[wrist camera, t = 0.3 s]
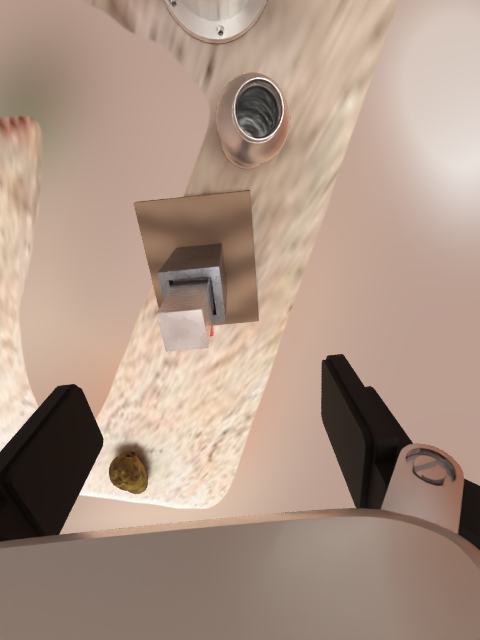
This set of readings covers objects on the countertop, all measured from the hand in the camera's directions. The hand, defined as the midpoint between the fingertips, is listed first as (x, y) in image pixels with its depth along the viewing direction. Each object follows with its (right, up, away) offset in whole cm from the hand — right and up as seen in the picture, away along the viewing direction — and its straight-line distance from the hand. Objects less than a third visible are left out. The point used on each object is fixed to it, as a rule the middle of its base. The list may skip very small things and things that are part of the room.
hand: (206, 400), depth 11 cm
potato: (-22, -28, +54) cm, 65 cm away
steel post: (-4, +11, +32) cm, 34 cm away
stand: (-4, +12, +34) cm, 36 cm away
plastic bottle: (+2, +27, +27) cm, 38 cm away
